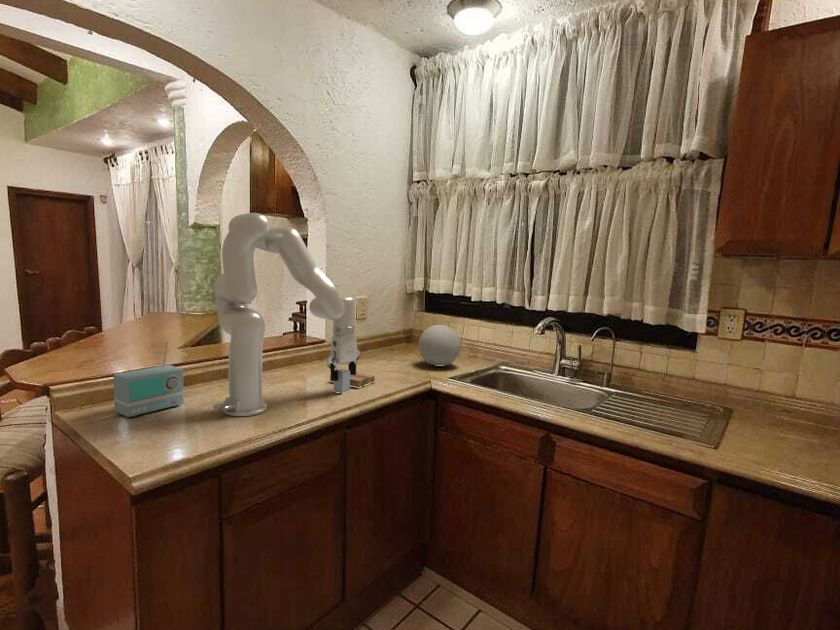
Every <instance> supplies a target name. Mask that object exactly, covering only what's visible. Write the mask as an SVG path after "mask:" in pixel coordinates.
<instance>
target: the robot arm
mask: <svg viewBox="0 0 840 630" xmlns="http://www.w3.org/2000/svg"><path fill="white" fill-rule="evenodd" d="M256 249H258V250H262V251H265V252H269V253H273V254H279V256H280V258H281V259H282V260H283V262H284V264H285V267H286V268H287V269H288V271H289V273H290V275H291V277H292V278H293V279H294V281H296V282H297V283H299V284H300V285H301V286H302V287H304V288H305V289H308V291H310V292H311V293H312V295H314V298H313V299H312V300H311V301H310V302H309V311H310V313H311V314H312V315H313V316H315V317H316V318H319V319H325V320H328V321H332V322H333V323H332V324H333V326H332V336H331V345H330V354H329V355H328V356H327V357H326V359H325V362H326V364H327V365H326V366H327V367H328V368H329V370H330V375H331V380H334V381H338V370H339V369H338V368H339V366H340V365H345V364H348V370H349V371H350V374H351V375H356V372H357V365H358V361H359V359H360V354H361V351H360V350H359V349H358V341H357V335H356V333H355V325H356V324H355V319H356V318H355V317H356V316H355V312H356V309H355V307H356V305H355V304H356V303H355V298H354V297H353V296H344V295H343V296H341V295H340V293H339V291H338V289H337V288H336V286H335V285H334V283H333V281H331V280H330V278H328V277H327V275H325V273H324V272H323V271H322V270H321V269H320V268H319V267H318V266H317V264H316V262H315V260H314V259H313V256H312V255H311V254H310V251H309V250H308V248H307V246H306V244H305V241H304V240H303V238H302V236H301V235H300V233H299V232H298V231H297V230H296V229H295V228H293V227H290V226H278V227H277V226H274V225H273V226H272V225H270V223H269V220H268V219H267V217H266V216H264V215H263V214H261V213H258V212H248V213H244V214H238V215H236V216H234V217H233V218H231V219H230V221H229V222H228V232H227V235H226V236H225V238H224V240H223V243H222V250H221V251H222V252H221V255H222V257H221V258H222V268H223V271H222V272H223V273H221V274H220V275H219V276H218V277H217V278H216V280H215V284H214V296H215V306H216V311H217V317H218V322H219V323H218V324H219V326H220V329H222V331H224V332H225V333H226V334H228V335H230V342H229V346H228V396H226V397H225V400H223V402H218V403H216V404H213V410H214V411H215V412H217V411H220V410H222V412H223V413H224V414H225V415H227V416H230V417H231V416H232V417H250V416H256V415H260V414H262V413H264V412H265V411H267V409H268V404H267V402H265V401H263V346H264V339H265V332H266V323H265V320H264V318H263V316H262V315H261V313H259V312H258V310H257V311H256V310H255V309H252V308H249V304H250V303H251V302H253V301H254V300H255V299H256V297H257V294H258V286H257V284H258V283H257V278H256V269H255V263H254V261H255V260H254V259H255V257H254V256H255V250H256Z"/></svg>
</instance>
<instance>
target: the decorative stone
mask: <svg viewBox="0 0 840 630" xmlns="http://www.w3.org/2000/svg"><path fill="white" fill-rule="evenodd" d="M460 351H461V341H460V337H459V336H458V333H457V332H456V331H455V330H454V329H452V328H451V327H449V326H447V325H444V324H435V325H431V326H428V327H427V328H426V329H425V330H423V332H422V333H421V335H420V337H419V339H418V352H419V355H420V357H421V359H422V360H423V361H424V362H425V363H426V364H428V365H430V364H431V365H430V366H432V365H447V366H449V365H451V364H453V362H455V360H457V358H458V357H459V355H460Z"/></svg>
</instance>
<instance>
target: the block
mask: <svg viewBox="0 0 840 630" xmlns="http://www.w3.org/2000/svg"><path fill="white" fill-rule="evenodd" d="M337 370H338V381H334V383H333V392H334V391H335V392H340V393H343V392H346V391H349V390H350V391H351V389H350V388H351V387H350V371H349V369H343V368H340V369H337Z"/></svg>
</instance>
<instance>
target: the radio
mask: <svg viewBox="0 0 840 630" xmlns="http://www.w3.org/2000/svg"><path fill="white" fill-rule="evenodd" d="M168 343H169V341H168V340H167V341H166V343H165V348H164V349H165V350H164V358H163V365H161V366H154V367H149V368H143V369H137V370H132V371H126V372H118V373H114V374H113V398H114V412H116V413H118V414H120V415H122V416H125V417H127V418H137V417H138V416H139V415H144V414H146V413H151V412H155V411H159V410H163V409H167V408H170V407H171V408H177V407H178V406H179V405H183V404H184V369H183V368H181V367H178V366H173V365H170V364H167V365H165V364H166V357H167V356H166V355H167V351H168V349H167V348H168Z"/></svg>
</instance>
